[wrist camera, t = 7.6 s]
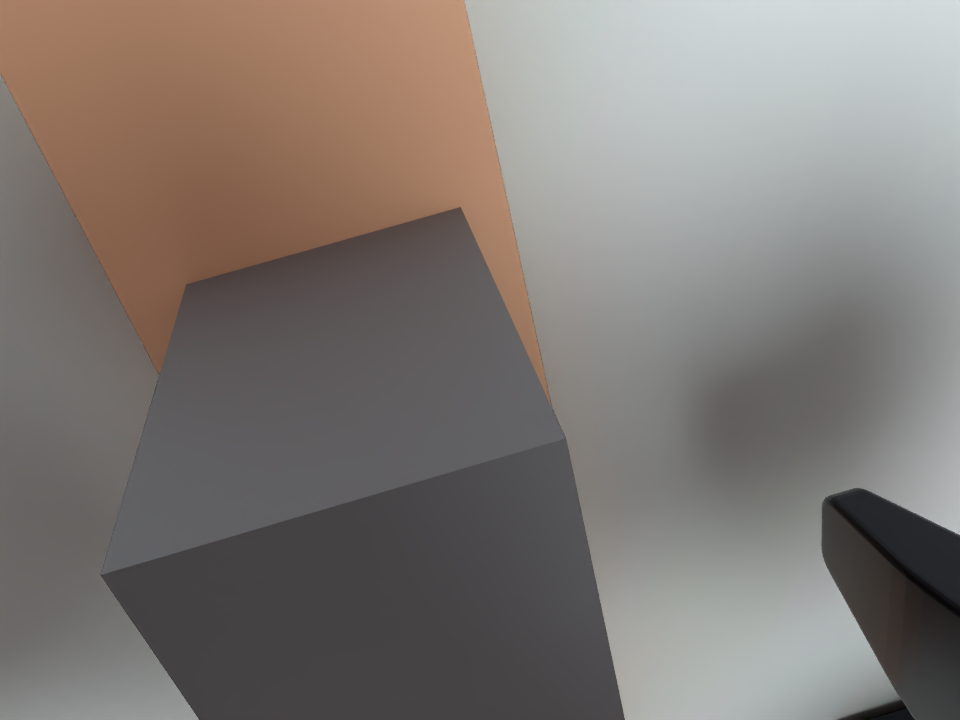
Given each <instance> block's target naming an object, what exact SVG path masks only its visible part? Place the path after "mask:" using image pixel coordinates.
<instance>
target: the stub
mask: <svg viewBox="0 0 960 720" xmlns="http://www.w3.org/2000/svg"><path fill="white" fill-rule="evenodd" d="M0 74H1V76H2V78H3V79H4V81H5V83H6V85H7V87H8V89H9V91H10V93H11V95H12V97H13V98H14V100H15V102H16V104H17V106H18V108H19V110H20V112H21V114H22V115H23V117H24V119H25V121H26V123H27V125H28V127H29V129H30V131H31V133H32V134H33V136H34V138H35V140H36V142H37V144H38V146H39V148H40V150H41V152H42V153H43V155H44V157H45V159H46V161H47V163H48V165H49V167H50V169H51V171H52V172H53V174H54V176H55V178H56V180H57V182H58V184H59V186H60V188H61V190H62V191H63V193H64V195H65V197H66V199H67V201H68V203H69V205H70V207H71V209H72V210H73V212H74V214H75V216H76V218H77V220H78V222H79V224H80V226H81V228H82V229H83V231H84V233H85V235H86V237H87V239H88V241H89V243H90V245H91V247H92V248H93V250H94V252H95V254H96V256H97V258H98V260H99V262H100V264H101V265H102V267H103V269H104V271H105V273H106V275H107V277H108V279H109V281H110V283H111V284H112V286H113V288H114V290H115V292H116V294H117V296H118V298H119V300H120V302H121V303H122V305H123V307H124V309H125V311H126V313H127V315H128V317H129V319H130V321H131V322H132V324H133V326H134V328H135V330H136V332H137V334H138V336H139V338H140V340H141V341H142V343H143V345H144V347H145V349H146V351H147V353H148V355H149V357H150V359H151V360H152V362H153V364H154V366H155V368H156V370H157V372H158V374H159V378H158V382H157V385H156V388H155V392H154V395H153V399H152V402H151V405H150V409H149V412H148V416H147V419H146V422H145V426H144V429H143V433H142V436H141V439H140V443H139V446H138V449H137V453H136V456H135V460H134V463H133V466H132V470H131V473H130V477H129V480H128V483H127V487H126V490H125V494H124V497H123V500H122V504H121V507H120V511H119V514H118V517H117V521H116V524H115V527H114V531H113V534H112V538H111V541H110V544H109V548H108V551H107V555H106V558H105V561H104V565H103V568H102V572H101V576H102V578H103V579H104V581H105V582H106V584H107V585H108V587H109V588H110V590H111V591H112V593H113V594H114V595H115V597H116V598H117V600H118V601H119V603H120V604H121V606H122V607H123V609H124V610H125V611H126V613H127V614H128V616H129V617H130V619H131V620H132V622H133V623H134V625H135V626H136V628H137V629H138V630H139V632H140V633H141V635H142V636H143V638H144V639H145V641H146V642H147V644H148V645H149V647H150V648H151V649H152V651H153V652H154V654H155V655H156V657H157V658H158V660H159V661H160V663H161V664H162V666H163V667H164V668H165V670H166V671H167V673H168V674H169V676H170V677H171V679H172V680H173V682H174V683H175V685H176V686H177V687H178V689H179V690H180V692H181V693H182V695H183V696H184V698H185V699H186V701H187V702H188V704H189V705H190V706H191V708H192V709H193V711H194V712H195V714H196V715H197V717H198V718H199V720H625V718H624V714H623V709H622V704H621V699H620V695H619V690H618V685H617V680H616V675H615V671H614V666H613V661H612V656H611V652H610V647H609V642H608V637H607V632H606V628H605V623H604V618H603V613H602V609H601V604H600V599H599V594H598V589H597V585H596V580H595V575H594V570H593V566H592V561H591V556H590V551H589V547H588V542H587V537H586V532H585V527H584V523H583V518H582V513H581V508H580V504H579V499H578V494H577V489H576V484H575V480H574V475H573V470H572V465H571V461H570V456H569V451H568V446H567V441H566V438H565V435H564V433H563V431H562V429H561V427H560V424H559V422H558V420H557V418H556V416H555V413H554V411H553V409H552V406H551V401H550V397H549V392H548V387H547V383H546V378H545V373H544V369H543V364H542V359H541V355H540V350H539V346H538V341H537V336H536V332H535V327H534V322H533V318H532V313H531V308H530V304H529V299H528V295H527V290H526V285H525V281H524V276H523V271H522V267H521V262H520V257H519V253H518V248H517V244H516V239H515V234H514V230H513V225H512V220H511V216H510V211H509V206H508V202H507V197H506V193H505V188H504V183H503V179H502V174H501V169H500V165H499V160H498V155H497V151H496V146H495V142H494V137H493V132H492V128H491V123H490V118H489V114H488V109H487V104H486V100H485V95H484V91H483V86H482V81H481V77H480V72H479V67H478V63H477V58H476V53H475V49H474V44H473V40H472V35H471V30H470V26H469V21H468V16H467V12H466V7H465V2H464V0H0Z"/></svg>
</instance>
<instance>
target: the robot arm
mask: <svg viewBox="0 0 960 720" xmlns="http://www.w3.org/2000/svg"><path fill="white" fill-rule="evenodd" d="M821 546H822V554H823V558H824V561H825V564H826V566H827V568H828V570H829V572H830V574H831V576H832V578H833V579H834V581H835V583H836V585H837V587H838V588H839V590H840V592H841V594H842V596H843V597H844V599H845V601H846V603H847V605H848V606H849V608H850V610H851V612H852V614H853V615H854V617H855V619H856V621H857V623H858V625H859V626H860V628H861V630H862V632H863V634H864V635H865V637H866V639H867V641H868V643H869V644H870V646H871V648H872V650H873V652H874V653H875V655H876V657H877V659H878V661H879V663H880V664H881V666H882V668H883V670H884V672H885V673H886V675H887V677H888V678H889V680H890V682H891V684H892V685H893V687H894V689H895V690H896V692H897V694H898V695H899V697H900V698H901V700H902V701H903V703H904V704H905V706H906V707H907V708H906V709H903V710H900V711H897V712H893V713H890V714H887V715H884V716H881V717H877V718H874V719H871V720H960V535H958V534H956V533H954V532H952V531H950V530H948V529H946V528H944V527H942V526H940V525H938V524H936V523H934V522H932V521H930V520H928V519H925V518H923V517H921V516H919V515H917V514H915V513H913V512H911V511H909V510H907V509H905V508H903V507H901V506H899V505H897V504H895V503H892V502H890V501H888V500H886V499H884V498H882V497H880V496H878V495H876V494H874V493H872V492H870V491H867V490H865V489H861V488H854V489H850V490H847V491H843V492H840V493H837V494H833V495H830V496H828V497H826V498H825V499H824V501H823V503H822V542H821Z"/></svg>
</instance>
